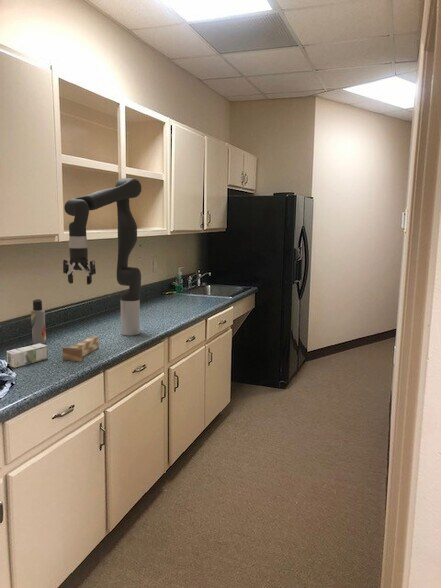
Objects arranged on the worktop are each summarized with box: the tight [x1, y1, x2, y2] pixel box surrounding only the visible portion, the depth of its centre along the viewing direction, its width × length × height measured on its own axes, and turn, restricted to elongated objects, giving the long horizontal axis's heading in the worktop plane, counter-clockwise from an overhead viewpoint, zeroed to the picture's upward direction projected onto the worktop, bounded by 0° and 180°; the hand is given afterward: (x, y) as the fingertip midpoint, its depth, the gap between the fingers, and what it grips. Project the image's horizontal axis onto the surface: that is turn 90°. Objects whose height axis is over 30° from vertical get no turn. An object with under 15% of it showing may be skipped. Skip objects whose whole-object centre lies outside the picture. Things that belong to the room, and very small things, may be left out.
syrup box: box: [6, 343, 49, 368], centre depth 181 cm, size 6×6×14 cm
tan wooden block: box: [61, 335, 99, 362], centre depth 194 cm, size 20×8×5 cm, turn 166°
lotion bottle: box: [30, 298, 47, 345], centre depth 206 cm, size 6×6×20 cm
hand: (79, 283), depth 199 cm, fingers open, 8 cm apart
